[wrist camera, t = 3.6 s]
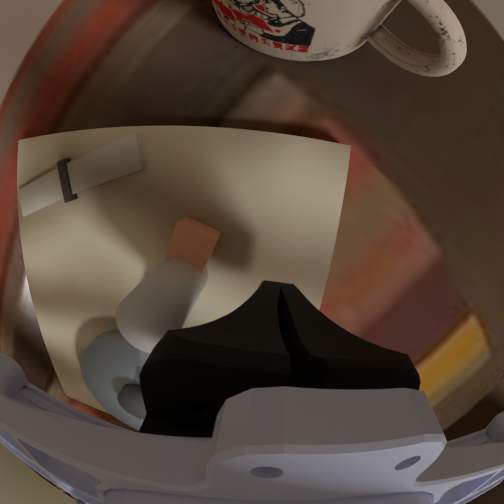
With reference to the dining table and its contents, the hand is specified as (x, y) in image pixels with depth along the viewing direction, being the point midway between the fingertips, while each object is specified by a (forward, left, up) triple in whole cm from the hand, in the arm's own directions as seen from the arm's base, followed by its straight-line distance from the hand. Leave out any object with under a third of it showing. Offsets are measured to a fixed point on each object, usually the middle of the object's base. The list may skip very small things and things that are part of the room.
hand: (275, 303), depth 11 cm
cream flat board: (-4, +7, -3) cm, 9 cm away
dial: (-6, +6, -2) cm, 9 cm away
